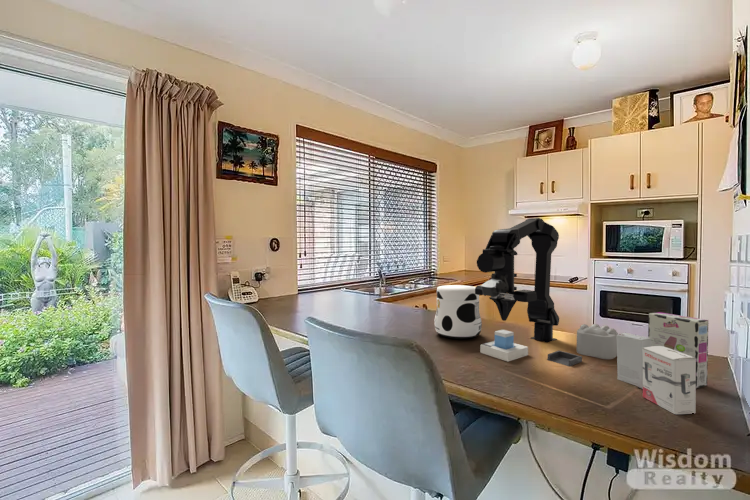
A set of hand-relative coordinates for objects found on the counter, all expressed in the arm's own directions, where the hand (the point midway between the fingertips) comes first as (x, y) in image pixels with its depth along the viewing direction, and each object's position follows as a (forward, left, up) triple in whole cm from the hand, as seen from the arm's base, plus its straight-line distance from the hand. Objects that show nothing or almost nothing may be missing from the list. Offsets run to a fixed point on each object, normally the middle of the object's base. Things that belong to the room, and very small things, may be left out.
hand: (504, 320), depth 111 cm
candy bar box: (-20, +37, -11) cm, 44 cm away
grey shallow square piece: (-9, +14, -11) cm, 20 cm away
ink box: (-1, +41, -11) cm, 43 cm away
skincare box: (-8, +32, -11) cm, 35 cm away
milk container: (-5, -24, -11) cm, 27 cm away
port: (0, 0, -11) cm, 11 cm away
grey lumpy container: (-26, +16, -11) cm, 32 cm away
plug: (0, 0, -11) cm, 11 cm away
